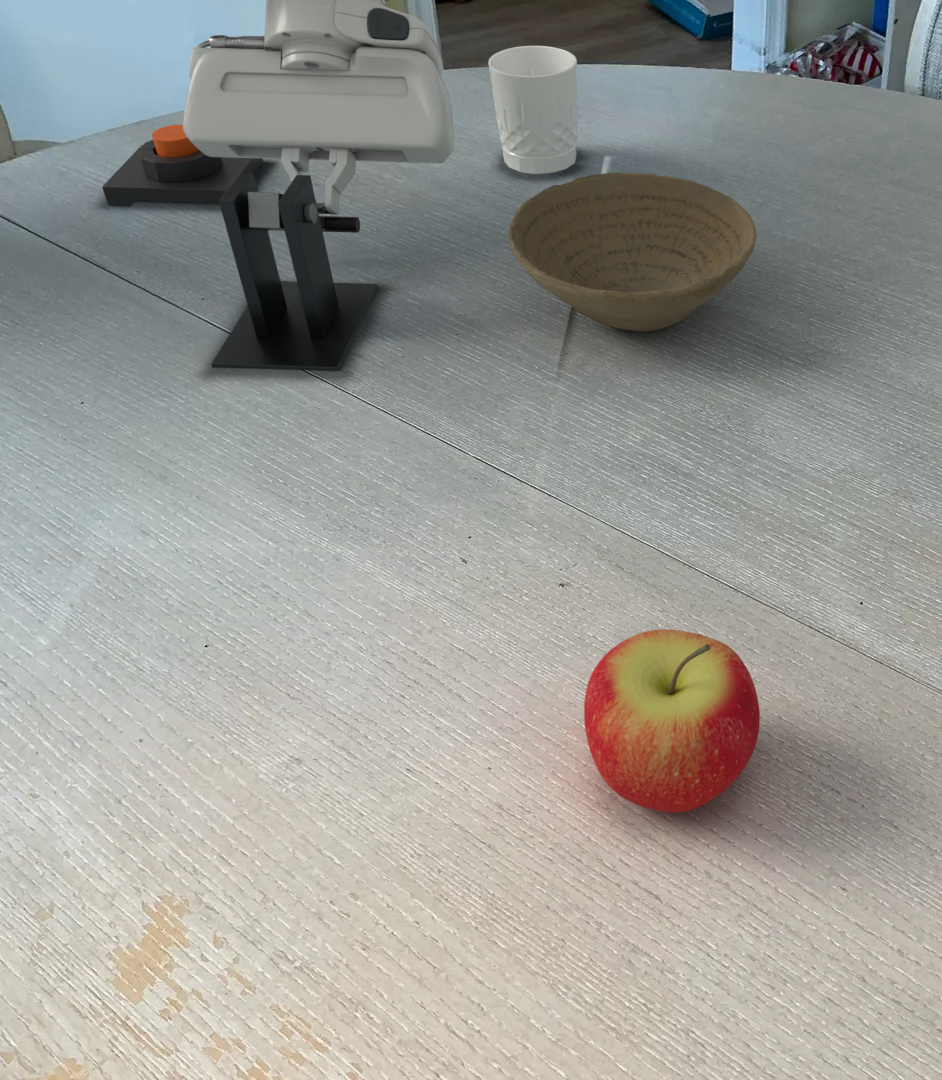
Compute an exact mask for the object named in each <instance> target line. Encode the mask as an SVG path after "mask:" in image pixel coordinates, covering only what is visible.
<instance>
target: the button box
mask: <svg viewBox="0 0 942 1080" xmlns="http://www.w3.org/2000/svg"><path fill="white" fill-rule="evenodd" d="M264 162H265V161H264V158H228V157H209V156H207V155H205V154H204V153H203V152H201V151H200V150H199V151H198V152H195V153H193V154H191V155H187V156H181V157H161V156H158V154H157V151H156V148H155V144H154V141H153V139H151V140H147V141H146V142H144V143H143V144H141V145H140V146H139V147H138V148H137V149H136V150H135V151H134V152H133V153H132V155H130V157H128V159H127V160H126V161H125V162H124V163H123V164H122V165H121V166H120V167H119V168H118V170H116V172H114V173H113V175H112V176H111V177H109V179H108V180H107V181H106V182H105V183H104V184H103V185H102V186H101V188H102V191H103V194H104V197H105V200H106V203H107V206H111V207H113V206H114V207H116V206H117V207H132V206H133V205H134V204H135V203H157V204H160V203H161V204H166V203H167V204H189V205H190V204H193V205H196V204H197V205H220V204H219V200H220V199H221V197H222V196H223V195H224V193H225V192H226V191H227V189H228V188H229V187H230V185H231V184H232V183H233V181H234V180H235V179H236V178H237V176H238V175H239V174H240V173H248V174H254V175H256V173H257V172H258V171H259V170H260V167H262V165H263V164H264Z"/></svg>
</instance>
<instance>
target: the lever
mask: <svg viewBox="0 0 942 1080" xmlns="http://www.w3.org/2000/svg"><path fill="white" fill-rule="evenodd" d="M283 194H284V193H281V192H273V191H271V192H269V191H258V192H248V217H249V227H250V228H254V229H259V230H264V231H268V232H285V230H284V226H283V222H282V218H281V214H280V209H279V205H278V202H279V200H280V199H281V197H282V196H283ZM319 218H320V222H321V227H322V231H323V233H353V234H358V233H359V232H360V231H361V221H360V218H359V217H358V216H343V215H342V216H337V215H319Z"/></svg>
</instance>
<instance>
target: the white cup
mask: <svg viewBox="0 0 942 1080" xmlns="http://www.w3.org/2000/svg"><path fill="white" fill-rule="evenodd" d="M487 64H488V70H489V77H490V84H491V91H492V97H493V104H494V112H495V118H496V122H497V128H498V135H499V139H500V142H501V148H502V156H503V161H504V163H505V164H506V165H507V167H508V168H509V169H512V170H515V171H517V172H520V173H524V174H525V173H526V174H533V175H540V174H541V175H542V174H553V173H558V172H560V171H564V170H567V169H568V168H570V167H571V166H573V165H574V164H575V163H576V159H577V140H578V109H579V108H578V60H577V57H576V56H575V55H574V54H573V53H572V52H570V51H568V50H565V49H562V48H558V47H554V46H547V45H522V46H515V47H510V48H506V49H503V50H500V51H498V52H496V53H494V54H492V55H491V56H490V58H488V62H487Z"/></svg>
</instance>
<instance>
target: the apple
mask: <svg viewBox="0 0 942 1080" xmlns="http://www.w3.org/2000/svg"><path fill="white" fill-rule="evenodd" d="M759 703H760V702H759V698H758V693H757V689H756V686H755V684H754V681H753V678H752V675H751V673H750V671H749V669H748V667H747V666H746V664H745V663H744V661H743V660H742V658H741V657H740V656H739V654H738V653H737V652H736V651H735V650H734V649H733V648H732V647H730V646H729V645H728V644H726V643H724V642H723V641H720V640H718V639H715V638H713V637H709V636H707V635H703V634H700V633H696V632H690V631H685V630H677V629H652V630H647V631H643V632H640V633H637V634H635V635H633V636H631V637H628V638H627V639H625V640H623V641H621V642H620V643H618V644H616V645H615V646H614V647H612V648H611V649H610V650H609V651H608V652H607V653H606V654H605V655H603V656H602V658H600V660H599V661H598V663H597V664H596V666H595V668H593V670H592V672H591V675H590V677H589V680H588V682H587V685H586V689H585V696H584V705H583V706H584V707H583V711H584V713H583V716H584V717H583V719H584V728H585V735H586V741H587V744H588V749H589V751H590V754H591V757H592V759H593V762H594V764H595V766H596V769H597V770H598V773H599V774H600V776H601V777H602V779H603V780H604V781H605V783H606V784H607V785H608V787H610V789H611V790H613V792H615V793H616V794H617V795H619V796H620V797H621V798H623V799H625V800H627V801H628V802H630V803H632V804H634V805H636V806H639V807H641V808H644V809H649V810H653V811H657V812H664V813H685V812H689V811H693V810H696V809H698V808H700V807H702V806H704V805H706V804H707V803H709V802H711V801H713V800H714V799H715V798H717V797H718V796H719V795H721V794H722V793H723V792H724V791H726V790H727V789H728V788H729V787H730V786H731V785H732V784H733V783H734V781H736V780H737V778H738V777H739V776H740V775H741V774H742V772H743V771H744V770H745V768H746V767H747V765H748V763H749V761H750V760H751V758H752V756H753V753H754V751H755V749H756V747H757V743H758V738H759V733H760V719H761V714H760V713H761V712H760V705H759Z"/></svg>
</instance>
